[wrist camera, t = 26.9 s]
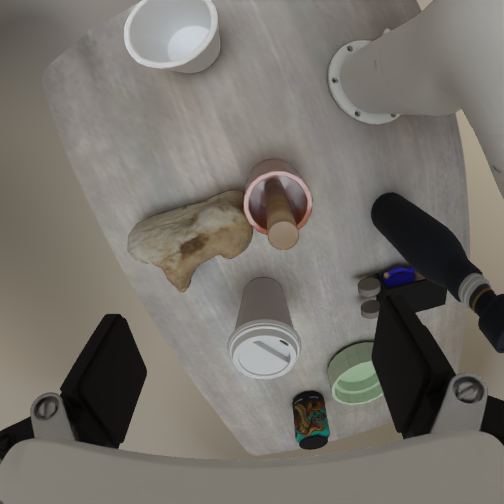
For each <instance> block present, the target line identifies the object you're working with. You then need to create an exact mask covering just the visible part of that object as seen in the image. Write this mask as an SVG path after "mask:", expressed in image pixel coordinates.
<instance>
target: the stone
mask: <svg viewBox="0 0 504 504" xmlns="http://www.w3.org/2000/svg"><path fill="white" fill-rule="evenodd" d="M252 234H253V228H252V225H251V224H250V223H249V222H248V220H247V217H246V215H245V213H244V193H243V192H242V191H236V190H233V191H227V192H224V193H222V194H220V195H215V196H213V197H210V198H209V199H208V200H206V201H203V202H200V203H197V204H190V205H188V206H182V207H180V208H178V209H174V210H172V211H169V212H165V213H162V214H159V215H155V216H152V217H149V218H148V219H145V220H143V221H141V222H139V223H137V224H136V225H135V227H134V228H133V229H132V231H131V232H130V234H129V236H128V252H129V253H130V254H131V255H132V256H133V257H134V258H135V259H136V260H139V261H141V262H143V263H146V264H147V263H151V264H153V265H156V266H158V267H160V268H161V269H162V270H163V271H164V273H165V275H166V276H167V279H168V280H169V281H170V282H171V283H172V284H173V285H174V286H175V287H176V288H177V289H178V291H180V292H185V291H186V289H187V288H188V287H189V285H190V283H191V278H192V275H193V273H194V272H195V269H196V267H197V266H199V265H200V264H201V263H203V262H205V261H207V260H209V259H211V258H212V257H214V256H216V255H221V256H223V257H224V258H228V259H232V258H234V257H236V256H237V255H239V254H240V253H242V252H243V251H244V250H245V249H246V248H247V247H248V245H249V244H250V242H251V239H252Z"/></svg>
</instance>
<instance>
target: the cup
mask: <svg viewBox="0 0 504 504" xmlns="http://www.w3.org/2000/svg"><path fill="white" fill-rule="evenodd" d="M124 40H125V46H126V48H127V50H128V52H129V53H130V55H131V56H132V57H133V58H134V59H135V60H136V61H137V62H138V63H140V64H143V65H145V66H147V67H153V68H159V69H165V70H171V71H177V72H182V73H197V72H201V71H203V70H205V69H206V68H208V67H209V66H211V65H212V64H213V63H214V62H215V60H216V59H217V57H218V55H219V53H220V45H221V44H220V34H219V24H218V16H217V11H216V7H215V5H214V4H213V2H212V1H211V0H142V1H141V2H140V3H138V4H137V5H136V6H135V8H134V9H133V11H132V12H131V13H130V15H129V17H128V19H127V21H126V24H125V26H124Z"/></svg>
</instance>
